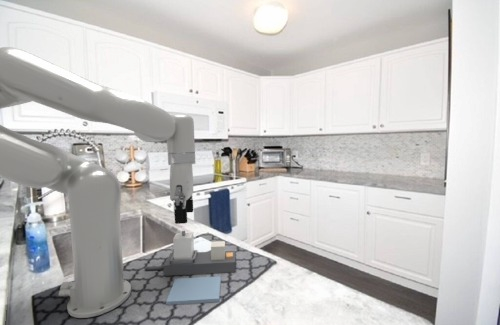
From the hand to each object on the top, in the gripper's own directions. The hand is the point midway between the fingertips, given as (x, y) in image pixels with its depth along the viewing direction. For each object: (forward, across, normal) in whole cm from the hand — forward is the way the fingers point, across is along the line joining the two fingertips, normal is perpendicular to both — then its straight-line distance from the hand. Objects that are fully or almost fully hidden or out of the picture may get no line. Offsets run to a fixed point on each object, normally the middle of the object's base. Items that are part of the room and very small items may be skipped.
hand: (184, 217), depth 66 cm
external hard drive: (+16, -13, +2) cm, 21 cm away
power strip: (+15, 0, +1) cm, 15 cm away
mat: (+15, +12, +4) cm, 20 cm away
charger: (+12, 0, -1) cm, 12 cm away
